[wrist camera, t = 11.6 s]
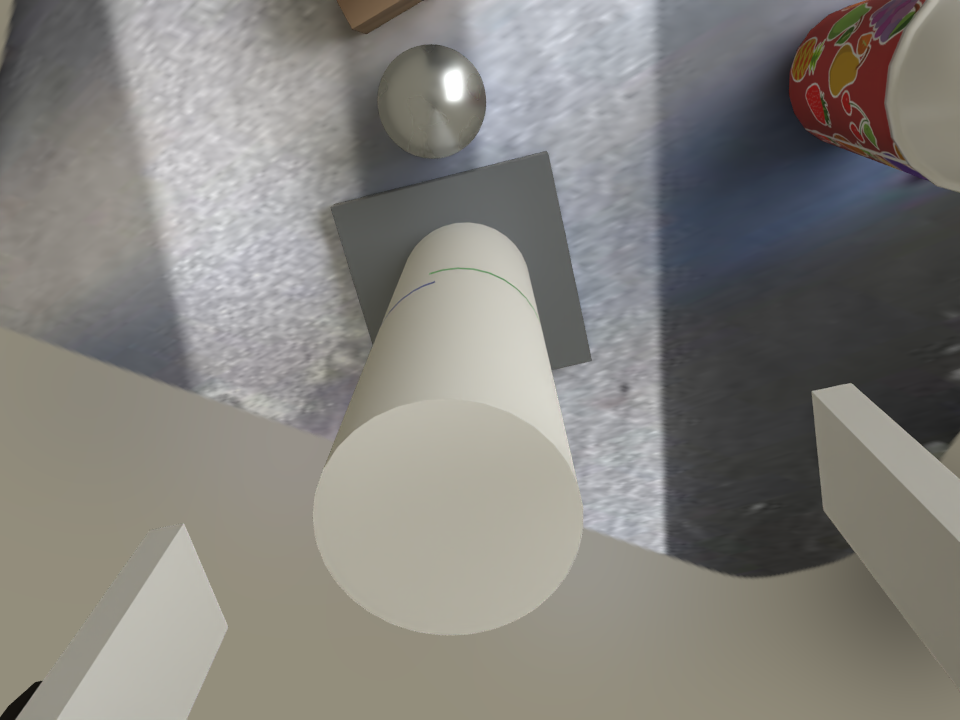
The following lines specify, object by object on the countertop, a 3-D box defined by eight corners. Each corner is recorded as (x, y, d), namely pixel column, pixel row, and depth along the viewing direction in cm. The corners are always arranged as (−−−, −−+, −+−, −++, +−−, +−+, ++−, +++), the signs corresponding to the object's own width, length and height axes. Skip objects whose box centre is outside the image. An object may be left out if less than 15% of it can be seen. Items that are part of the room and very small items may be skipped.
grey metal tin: (380, 61, 42) (364, 60, 36) (472, 37, 41) (471, 31, 36) (405, 156, 43) (394, 169, 38) (495, 134, 43) (497, 143, 37)
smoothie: (852, 187, 44) (1129, 274, 25) (732, 102, 42) (931, 128, 24) (959, 49, 42) (1354, 31, 23) (835, -46, 40) (1149, -149, 21)
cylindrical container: (377, 263, 44) (258, 480, 21) (489, 197, 43) (498, 348, 19) (444, 368, 46) (405, 673, 23) (552, 308, 45) (630, 565, 22)
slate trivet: (334, 203, 44) (330, 207, 43) (546, 150, 43) (548, 153, 42) (393, 398, 48) (391, 406, 47) (589, 353, 47) (591, 360, 46)
